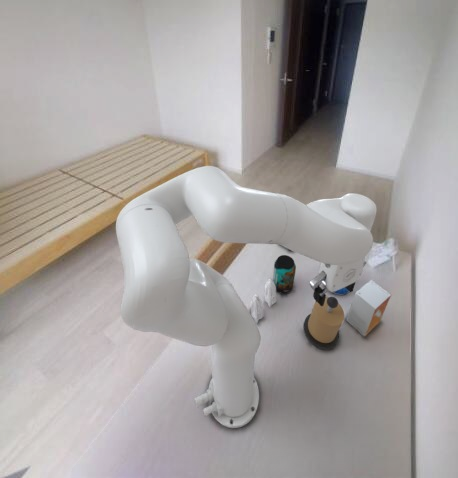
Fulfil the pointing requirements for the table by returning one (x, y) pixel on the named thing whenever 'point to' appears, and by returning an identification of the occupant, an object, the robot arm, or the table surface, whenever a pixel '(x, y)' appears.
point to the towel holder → (324, 323)
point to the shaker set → (269, 298)
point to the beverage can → (284, 274)
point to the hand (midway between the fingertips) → (332, 294)
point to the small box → (368, 307)
